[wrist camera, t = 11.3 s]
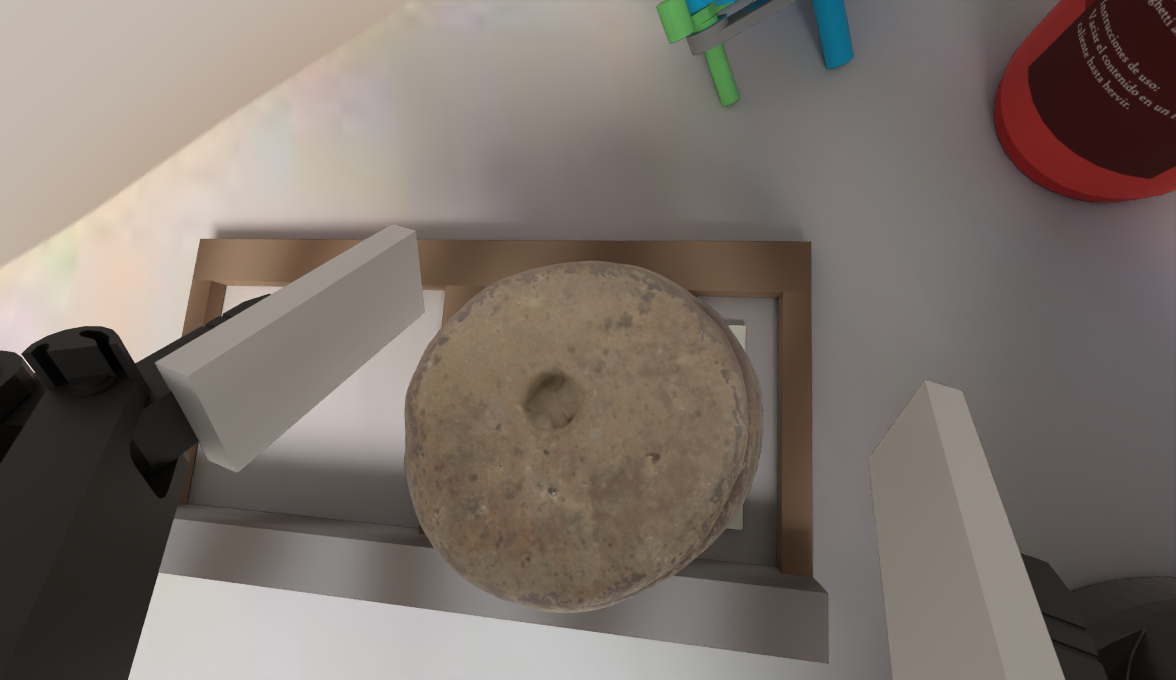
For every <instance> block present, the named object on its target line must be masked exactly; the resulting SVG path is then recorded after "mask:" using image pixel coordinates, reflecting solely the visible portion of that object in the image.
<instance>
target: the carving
mask: <svg viewBox="0 0 1176 680" xmlns="http://www.w3.org/2000/svg"><path fill="white" fill-rule="evenodd" d="M762 417H763V404H762V394H761V389H760V385H759V381H758V377H757V375H756V372H755V370H754V368H753V366H752V364H751V361H750V359H749V357H748V355H747V354H746V352H745V350H744V349H743V347H742V346H741V344H740V342H739V341H738V339H737V338H736V336H735V335H734V333H733V332H732V331H731V329H730V328H729V326H728V325H727V323H726V322H725V321H724V320H723V318H722V317H721V316H720V315H719V314H718V313H717V312H716V311H715V310H714V309H712V308H711V307H710V306H709V305H707V304H706V303H704V302H703V301H701V300H699V299H698V298H696V297H695V296H694V295H692V294H691V293H690V292H688V291H687V290H686V289H685V288H683V287H682V286H680V285H678V284H676V283H675V282H673V281H671V280H669V279H667V278H665V277H664V276H662V275H659V274H657V273H655V272H652V271H650V270H647V269H644V268H641V267H638V266H633V265H627V264H618V263H612V262H603V261H581V262H568V263H560V264H554V265H549V266H544V267H540V268H535V269H532V270H528V271H524V272H521V273H518V274H515V275H512V276H509V277H507V278H504V279H502V280H500V281H498V282H495V283H493V284H491V285H490V286H488V287H486V288H485V289H483V290H482V291H481V292H479V293H478V294H477V295H475V296H474V297H473V298H472V299H471V300H470V301H468V302H467V303H466V304H465V305H464V306H463V307H462V308H461V309H460V310H459V311H458V312H457V313H455V314H454V315H453V316H452V317H451V318H450V319H449V320H448V321H447V322H446V323H445V324H444V325H443V327H442V328H441V329H440V330H439V332H438V333H437V334H436V336H435V337H434V338H433V340H432V341H431V342H430V343H429V345H428V346H427V348H426V350H425V352H424V354H423V356H422V358H421V360H420V362H419V364H418V366H417V369H416V371H415V372H414V374H413V377H412V379H411V382H410V384H409V387H408V390H407V394H406V400H405V433H406V436H405V456H404V468H405V475H406V480H407V484H408V488H409V492H410V496H411V500H412V503H413V507H414V510H415V513H416V516H417V518H418V521H419V523H420V525H421V527H422V529H423V530H424V532H425V534H426V536H427V537H428V539H429V541H430V542H431V544H432V545H433V547H434V549H435V550H436V552H437V553H438V554H439V556H440V557H441V558H442V559H443V560H444V562H445V563H446V564H447V565H448V566H449V567H450V568H451V569H452V570H453V571H454V572H456V573H457V574H458V575H459V576H460V577H462V578H463V579H464V580H466V581H467V582H469V583H470V584H472V585H474V586H475V587H477V588H479V589H481V590H483V591H485V592H487V593H488V594H490V595H492V596H495V597H497V598H499V599H501V600H504V601H508V602H513V603H515V604H518V605H521V606H524V607H528V608H532V609H536V610H540V611H545V612H558V613H576V612H585V611H592V610H597V609H601V608H605V607H608V606H611V605H614V604H617V603H620V602H622V601H625V600H627V599H630V598H633V597H635V596H637V595H639V594H641V593H644V592H646V591H648V590H650V589H652V588H654V587H655V586H657V585H659V584H661V583H662V582H664V581H666V580H667V579H669V578H670V577H672V576H673V575H675V574H676V573H677V572H679V571H680V570H681V569H683V568H684V567H685V566H687V565H688V564H689V563H691V562H692V561H693V560H694V559H696V558H697V557H698V556H699V555H700V554H702V553H703V552H704V551H705V550H706V549H707V548H708V547H709V546H711V545H712V544H713V542H714V541H715V540H716V539H717V538H718V537H719V536H720V535H721V534H722V533H723V532H724V530H725V529H726V528H727V527H728V526H729V525H730V523H731V522H732V521H733V520H734V518H735V517H736V515H737V513H738V512H739V510H740V508H741V507H742V505H743V503H744V501H745V499H746V497H747V495H748V492H749V490H750V487H751V485H752V482H753V479H754V476H755V473H756V470H757V466H758V460H759V457H760V452H761V447H762Z"/></svg>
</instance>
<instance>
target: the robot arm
mask: <svg viewBox="0 0 1176 680" xmlns="http://www.w3.org/2000/svg"><path fill="white" fill-rule="evenodd" d="M424 312H425V310H424V301H423V292H422V282H421V273H420V263H419V254H418V244H417V235H416V231H415V230H412V229H408V228H405V227H401V226H398V225H395V224H391V225H390V226H388V227H386V228H384V229H383V230H381V231H379V232H378V233H376V234H374V235H372V236H371V237H369V238H367V239H366V240H364V241H362V242H360V243H359V244H357V245H355V246H354V247H352V248H350V249H348V250H347V251H345V252H343V253H342V254H340V255H338V256H336V257H335V258H333V259H331V260H330V261H328V262H326V263H324V264H323V265H321V266H319V267H318V268H316V269H314V270H313V271H311V272H309V273H307V274H306V275H304V276H302V277H301V278H299V279H297V280H295V281H294V282H292V283H290V284H289V285H287V286H285V287H283V288H282V289H280V290H278V291H277V292H275V293H273V294H267V295H264V296H261V297H258V298H254V299H251V300H248V301H245V302H243V303H241V304H239V305H238V306H236V307H234V308H232V309H231V310H229V311H227V312H225V313H223V316H222V317H220V316H218V317H216V318H215V319H213V320H211V321H209V322H208V323H206V326H205V327H203V326H201V327H199V328H197V329H195V330H194V331H192V332H190V333H188V334H187V335H185V336H183V337H181V338H180V339H178V340H176V341H174V342H172V343H171V344H169V345H167V346H165V347H164V348H162V349H160V350H158V351H157V352H155V353H153V354H151V355H150V356H148V357H146V358H144V359H143V360H141V361H139V362H137V363H134V361H133V359H132V358H131V356H130V354H129V353H128V351H127V349H126V348H125V346H124V344H123V342H122V341H121V339H120V337H119V336H118V335H117V334H116V333H115V331H114V330H112V329H109V328H105V327H101V326H84V327H78V328H72V329H67V330H63V331H60V332H57V333H54V334H52V335H49V336H46V337H44V338H43V339H41V340H39V341H37V342H35V343H33V344H31V345H30V346H29V347H28V348H27V349H26V350H25V351H24V352H23V353H22V355H23V357H24V358H25V359H26V361H27V362H28V363H29V365H30V366H31V367H32V369H33V370H34V371H35V373H33V371H32V370H31V369H30V367H29V366H28V365H27V364H26V362H25V361H24V360H23V358H22V357H21V356H19V355H18V354H16V353H15V352H8V351H0V680H128V677H129V674H130V670H131V667H132V663H133V660H134V656H135V653H136V649H137V646H138V642H139V639H140V635H141V632H142V628H143V625H144V621H145V618H146V614H147V611H148V607H149V604H150V600H151V597H152V593H153V590H154V586H155V583H156V579H157V576H158V572H159V569H160V565H161V562H162V558H163V555H164V551H165V548H166V544H167V541H168V538H169V534H170V531H171V527H172V524H173V520H174V517H175V513H176V510H177V506H178V503H179V499H180V496H181V492H182V489H183V485H184V482H185V478H186V475H187V471H188V468H189V455H188V453H187V450H188V449H190V448H191V447H192V446H194V445H195V444H196V443H198V442H199V444H200V446H201V447H202V449H203V451H204V453H205V455H206V456H207V458H208V460H209V461H211V462H213V463H216V464H218V465H220V466H222V467H225V468H227V469H229V470H231V471H234V472H236V473H238V472H239V471H240V470H241V469H243V468H244V467H245V466H246V465H247V464H248V463H250V462H251V461H252V460H253V459H254V458H255V457H257V456H258V455H259V454H260V453H261V452H262V451H264V450H265V449H266V448H267V447H268V446H269V445H271V444H272V443H273V442H274V441H275V440H276V439H278V438H279V437H280V436H281V435H282V434H283V433H284V432H286V431H287V430H288V429H289V428H290V427H291V426H293V425H294V424H295V423H296V422H297V421H298V420H300V419H301V418H302V417H303V416H304V415H305V414H307V413H308V412H309V411H310V410H311V409H312V408H314V407H315V406H316V405H317V404H318V403H319V402H321V401H322V400H323V399H324V398H325V397H326V396H328V395H329V394H330V393H331V392H332V391H333V390H335V389H336V388H337V387H338V386H339V385H340V384H342V383H343V382H344V381H345V380H346V379H347V378H349V377H350V376H351V375H352V374H353V373H354V372H356V371H357V370H358V369H359V368H360V367H361V366H363V365H364V364H365V363H366V362H367V361H368V360H370V359H371V358H372V357H373V356H374V355H375V354H376V353H378V352H379V351H380V350H381V349H382V348H383V347H385V346H386V345H387V344H388V343H389V342H390V341H392V340H393V339H394V338H395V337H396V336H397V335H399V334H400V333H401V332H402V331H403V330H404V329H406V328H407V327H408V326H409V325H410V324H411V323H413V322H414V321H415V320H416V319H417V318H418V317H420V316H421V315H422V314H423V313H424ZM868 462H869V471H870V480H871V489H872V498H873V507H874V515H875V524H876V533H877V542H878V551H879V560H880V569H881V578H882V587H883V596H884V605H885V614H886V623H887V632H888V641H889V650H890V659H891V668H892V677H893V680H1176V577H1143V578H1129V579H1122V580H1115V581H1109V582H1105V583H1100V584H1096V585H1091V586H1088V587H1085V588H1082V589H1078V590H1075V591H1072V592H1070V591H1069V589H1068V588H1067V587H1066V586H1065V584H1064V583H1063V582H1062V580H1061V579H1060V578H1059V576H1058V575H1057V574H1056V573H1055V571H1054V570H1053V569H1052V567H1051V566H1050V565H1049V563H1047V562H1045V561H1042V560H1039V559H1036V558H1033V557H1030V556H1027V555H1024V554H1022V553H1020V552H1019V549H1018V546H1017V543H1016V540H1015V538H1014V535H1013V532H1012V529H1011V526H1010V524H1009V521H1008V518H1007V515H1006V512H1005V510H1004V507H1003V504H1002V501H1001V498H1000V496H999V493H998V490H997V487H996V484H995V482H994V479H993V476H992V473H991V470H990V468H989V465H988V462H987V459H986V456H985V454H984V451H983V448H982V445H981V442H980V440H979V437H978V434H977V431H976V428H975V426H974V423H973V420H972V417H971V414H970V412H969V409H968V406H967V403H966V400H965V398H964V395H963V392H962V391H961V390H957V389H954V388H950V387H947V386H944V385H940V384H937V383H933V382H930V381H927V380H924V382H923V383H922V385H921V386H920V387H919V389H918V390H917V391H916V393H915V394H914V396H913V397H912V398H911V400H910V401H909V403H908V404H907V405H906V407H905V408H904V410H903V411H902V412H901V414H900V415H899V417H898V418H897V419H896V421H895V422H894V423H893V425H892V426H891V428H890V429H889V430H888V432H887V433H886V435H885V436H884V437H883V439H882V440H881V442H880V443H879V444H878V446H877V447H876V449H875V450H874V451H873V453H872V454H871V456H870V457H869V458H868Z"/></svg>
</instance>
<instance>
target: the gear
mask: <svg viewBox="0 0 1176 680" xmlns="http://www.w3.org/2000/svg"><path fill="white" fill-rule="evenodd" d="M735 1H736V0H665V1H663V2H662V3H660V4H659V5H658V6H657V7H656V8H657V11H658V14H659V16H660V19H661V22H662V24H663V27H664V30H665V33H666V35H667V38H668V41H669V43H674V42H677V41H679V40H681V39H683V38H684V37H686V38H687V41H688V43H689V46H690V49H691V52H692V55H698V54H701V53H705V56H706V59H707V62H708V65H709V68H710V71H711V74H712V77H713V79H714V82H715V85H716V88H717V91H718V94H719V97H720V100H721V103H722V106H727V105H730V104H732V103H734V102H736V101H737V100H738V99H739V95H738V91H737V88H736V85H735V82H734V79H733V76H732V72H731V69H730V66H729V63H728V60H727V57H726V53H725V50H724V47H723V44H722V43H723V42H725V41H727V40H729V39H730V38H732V37H734V36H735V35H737V34H739V33H741V32H742V31H744V30H746V29H748V28H749V27H751V26H753V25H754V24H756V23H758V22H760V21H761V20H763V19H765V18H767V17H768V16H770V15H772V14H773V13H775V12H777V11H779V10H780V9H782V8H784V7H786V6H787V5H789V4H791V3H792V2H794V1H796V0H756V1H755V2H753V3H751V4H750V5H748V6H746V7H744V8H743V9H741V10H739V11H738V12H736V13H734V14H733V15H731V16H729V17H727V14H722V15H719V16H718V15H717V12H718V11H720V10H721V9H723V8H725V7H727V6H729V5H730V4H732V3H734V2H735ZM812 2H813V6H814V11H815V16H816V21H817V25H818V30H819V35H820V39H821V44H822V49H823V53H824V58H825V63H826V68H835V67H838V66H841V65H843V64H845V63H847V62H849V61H850V60H851V59H852V58H853V57H854V55H853V50H852V44H851V39H850V33H849V28H848V22H847V17H846V11H845V6H844V0H812Z"/></svg>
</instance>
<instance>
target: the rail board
mask: <svg viewBox="0 0 1176 680" xmlns="http://www.w3.org/2000/svg"><path fill="white" fill-rule="evenodd" d="M362 241H364V240H350V239H200V243H199V249H198V254H197V259H196V264H195V269H194V275H193V280H192V285H191V290H190V296H189V301H188V306H187V311H186V317H185V322H184V327H183V332H182V337H183V336H185V335H187V334H188V333H190V332H192V331H194V330H195V329H197V328H199V327H201V326H203V327H205V326H206V323H208V322H209V321H211V320H213V319H215V318H216V317H218V316H221V311H222V305H223V300H224V294H225V288H226V285H240V286H284V287H285V286H287V285H289V284H290V283H292V282H294V281H295V280H297V279H299V278H301V277H302V276H304V275H306V274H307V273H309V272H311V271H313V270H314V269H316V268H318V267H319V266H321V265H323V264H324V263H326V262H328V261H330V260H331V259H333V258H335V257H336V256H338V255H340V254H342V253H343V252H345V251H347V250H348V249H350V248H352V247H354V246H355V245H357V244H359V243H360V242H362ZM417 244H418V254H419V263H420V273H421V282H422V290H446V292H445V301H444V310H443V319H442V327H443V325H444V324H445V323H446V322H447V321H448V320H449V319H450V318H451V317H452V316H453V315H454V314H455V313H457V312H458V311H459V310H460V309H461V308H462V307H463V306H464V305H465V304H466V303H467V302H468V301H470V300H471V299H472V298H473V297H474V296H475V295H477V294H478V293H479V292H481V291H482V290H483V289H485V288H486V287H488V286H490V285H491V284H493V283H495V282H498V281H500V280H502V279H504V278H507V277H509V276H512V275H515V274H518V273H521V272H524V271H528V270H532V269H535V268H540V267H544V266H549V265H554V264H560V263H568V262H581V261H603V262H612V263H618V264H627V265H633V266H638V267H641V268H644V269H647V270H650V271H652V272H655V273H657V274H659V275H662V276H664V277H665V278H667V279H669V280H671V281H673V282H675V283H676V284H678V285H680V286H682V287H683V288H685V289H686V290H687V291H688V292H690V293H691V294H692V295H694V296H732V297H776V298H779V322H778V509H777V567H771V566H762V565H752V564H743V563H734V562H725V561H715V560H706V559H697V558H696V559H694V560H693V561H692V562H691V563H689V564H688V565H687V566H685V567H684V568H683V569H681V570H680V571H679V572H677V573H676V574H675V575H673V576H672V577H670V578H669V579H667V580H666V581H664V582H662V583H661V584H659V585H657V586H655V587H654V588H652V589H650V590H648V591H646V592H644V593H641V594H639V595H637V596H635V597H633V598H630V599H627V600H625V601H622V602H620V603H617V604H614V605H611V606H608V607H605V608H601V609H597V610H592V611H585V612H576V613H558V612H545V611H540V610H536V609H532V608H528V607H524V606H521V605H518V604H515V603H513V602H508V601H504V600H501V599H499V598H497V597H495V596H492V595H490V594H488V593H487V592H485V591H483V590H481V589H479V588H477V587H475V586H474V585H472V584H470V583H469V582H467V581H466V580H464V579H463V578H462V577H460V576H459V575H458V574H457V573H456V572H454V571H453V570H452V569H451V568H450V567H449V566H448V565H447V564H446V563H445V562H444V560H443V559H442V558H441V557H440V556H439V554H438V553H437V552H436V550H435V549H434V547H433V545H432V544H431V542H430V541H429V539H428V537H427V536H426V534H425V532H424V530H423V529H422V527H421V525H420V528H419V529H418V528H409V527H400V526H390V525H381V524H372V523H362V522H353V521H344V520H335V519H325V518H316V517H307V516H297V515H288V514H279V513H270V512H260V511H251V510H242V509H232V508H223V507H214V506H204V505H195V504H187V500H188V494H189V489H190V483H191V478H192V472H193V467H194V461H195V455H196V450H197V444H198V443H196V444H195V445H194V446H192V447H191V448H190V449H188V450H187V453H188V455H189V468H188V471H187V475H186V478H185V482H184V485H183V489H182V492H181V496H180V499H179V503H178V506H177V510H176V513H175V517H174V520H173V524H172V527H171V531H170V534H169V538H168V541H167V544H166V548H165V551H164V555H163V558H162V562H161V565H160V569H159V573H166V574H174V575H181V576H188V577H196V578H203V579H210V580H218V581H225V582H232V583H240V584H247V585H255V586H262V587H269V588H277V589H284V590H291V591H299V592H306V593H313V594H321V595H328V596H335V597H343V598H350V599H357V600H365V601H372V602H380V603H387V604H394V605H402V606H409V607H416V608H424V609H431V610H438V611H446V612H453V613H460V614H468V615H475V616H483V617H490V618H497V619H505V620H512V621H519V622H527V623H534V624H541V625H549V626H556V627H563V628H571V629H578V630H586V631H593V632H600V633H608V634H615V635H622V636H630V637H637V638H644V639H652V640H659V641H666V642H674V643H681V644H688V645H696V646H703V647H711V648H718V649H725V650H733V651H740V652H747V653H755V654H762V655H769V656H777V657H784V658H791V659H799V660H806V661H814V662H821V663H828V664H829V652H828V593H827V592H826V591H825V590H824V589H823V587H822V586H821V585H820V584H819V583H818V582H817V581H816V580H815V579H814V578H813V536H812V333H811V242H782V241H566V240H417ZM728 326H729V328H730V329H731V331H732V332H733V333H734V335H735V336H736V338H737V339H738V341H739V342H740V344H741V346H742V347H743V349H744V350H745V344H746V326H742V325H728ZM726 529H736V530H743V505H742V507H741V508H740V510H739V512H738V513H737V515H736V517H735V518H734V520H733V521H732V522H731V523H730V525H729V526H728V527H727V528H726Z"/></svg>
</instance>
